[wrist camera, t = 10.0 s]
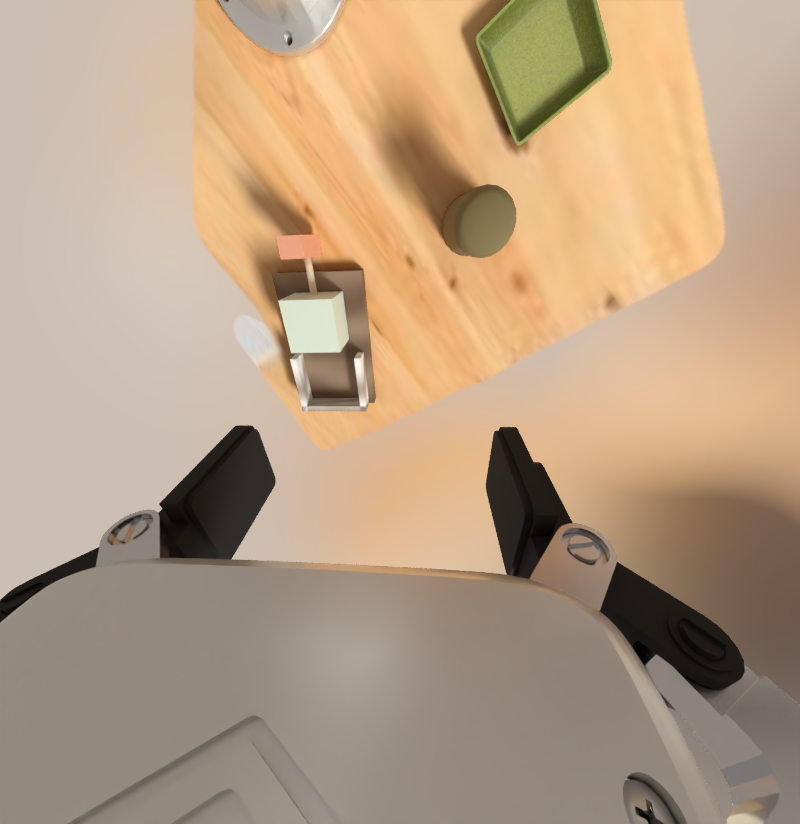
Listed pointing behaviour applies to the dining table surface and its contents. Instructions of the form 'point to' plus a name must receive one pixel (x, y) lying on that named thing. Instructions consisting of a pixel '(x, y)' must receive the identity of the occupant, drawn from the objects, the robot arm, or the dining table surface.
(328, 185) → the dining table surface
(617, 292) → the dining table surface
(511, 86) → the green tray
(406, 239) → the dining table surface
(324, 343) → the joined block piece
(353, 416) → the dining table surface
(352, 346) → the shelf
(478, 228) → the cork
